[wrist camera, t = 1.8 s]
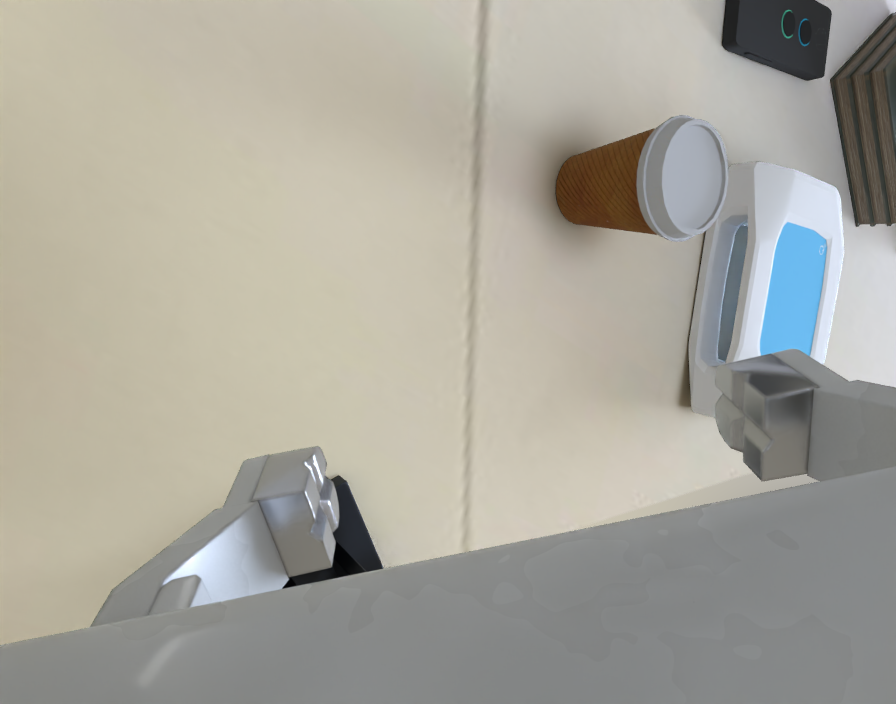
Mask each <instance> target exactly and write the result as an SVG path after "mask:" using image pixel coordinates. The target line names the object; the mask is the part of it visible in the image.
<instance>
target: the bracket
mask: <svg viewBox="0 0 896 704" xmlns="http://www.w3.org/2000/svg"><path fill="white" fill-rule="evenodd" d="M331 481H333V483H334V486H335V489H336V493H337V498H338V503H339V524H338V528H337V529H336V530H335V531H334V532H333V536H334V539H335V542H336V544H335V551H334V557H333V563H332V568H327V569H323V570H318V571H314V572H310V573H305V574H301V575H297V576H292V577H288V578H289V580H288V581H287V583H286V584H285V585H284V586H283V588H282V589H284V588H289V587H294V586H299V585H304V584H309V583H314V582H319V581H324V580H329V579H334V578H339V577H344V576H349V575H354V574H359V573H364V572H369V571H374V570H379V569H384V568H383V566H382V564H381V561H380V559H379V556H378V554H377V552H376V549H375V547H374V545H373V542H372V540H371V538H370V535H369V533H368V530H367V528H366V526H365V523H364V521H363V519H362V516H361V514H360V512H359V509H358V507H357V504H356V502H355V500H354V497H353V495H352V493H351V490H350V488H349V486H348V483H347V481H346V480H344V479H343V478H342V477H340V476H337V477H336V478H334V479H332V480H331Z"/></svg>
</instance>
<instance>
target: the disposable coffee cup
mask: <svg viewBox="0 0 896 704" xmlns="http://www.w3.org/2000/svg"><path fill="white" fill-rule="evenodd" d="M727 187H728V159H727V154H726V150H725V147H724V143H723V141H722V139H721V137H720V135H719V133H718V132H717V130H716V129H715V128H714V127H713V126H712V125H711V124H709V123H708V122H707V121H704V120H701V119H695V118H692V117H690V116H686V115H679V116H675V117H671V118H670V119H668V120H667V121H665V122H664V123H662V124H661V125H660V126H658V127H657V128H656V129H651V130H649V131H645V132H643V133H639V134H637V135H633V136H631V137H628V138H625V139H622V140H619V141H616V142H613V143H610V144H607V145H604V146H602V147H598V148H596V149H593V150H591V151H587V152H584V153H581V154H578V155H574V156H572V157H570V158H569V159H568V160H567V161H566V162H565V163H564V164H563V166H562V167H561V169H560V172H559V174H558V178H557V184H556V196H557V202H558V206H559V208H560V210H561V212H562V214H563V215H564V217H565V218H566V219H567V220H568V221H570V222H572V223H574V224H578V225H587V226H594V227H603V228H609V229H618V230H625V231H632V232H641V233H648V234H655V235H659V236H661V237H664V238H665V239H667V240H670V241H675V242H677V241H685V240H688V239H690V238H692V237H693V236H694V235H698V234H701V233H703V232H705V231H706V230H707V229H708V228H709V227H711V226H712V225H713V223H714V222H715V220H716V219H717V217H718V216H719V213H720V211H721V209H722V207H723V204H724V200H725V197H726V192H727Z"/></svg>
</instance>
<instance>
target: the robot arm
mask: <svg viewBox="0 0 896 704" xmlns="http://www.w3.org/2000/svg"><path fill="white" fill-rule="evenodd" d="M715 386H716V387H717V388H718V389H719V390H720V391H721V392H722V395H721V396H720V398H719V399H718V401H717V402H716V404H715V418H716V422H717V426H718V429H719V432H720V434H721V436H722V438H723V439H724V441H725V442H726V443H727V444H728V446H729V447H730V448H732V449H734V450H737V451H740V452H743V462H744V463H745V464H746V465H747V466H748V467H749V468H750V469H751V470H752V471H753V472H754V473H755V474H756V475H757V477H758V478H759V479H760V480H761V481H768V480H773V479H779V478H785V477H791V476H797V475H802V474H807V476H810V477H812V478H814V479H816V480H818V481H820V482H815V483H810V484H805V485H800V486H795V487H790V488H785V489H780V490H775V491H770V492H765V493H760V494H755V495H750V496H745V497H740V498H735V499H730V500H725V501H720V502H715V503H710V504H705V505H700V506H695V507H690V508H685V509H680V510H675V511H670V512H665V513H660V514H655V515H650V516H645V517H640V518H635V519H630V520H625V521H620V522H615V523H610V524H605V525H600V526H595V527H590V528H585V529H580V530H575V531H570V532H565V533H560V534H555V535H550V536H545V537H540V538H535V539H530V540H525V541H520V542H515V543H510V544H504V545H499V546H494V547H489V548H484V549H479V550H474V551H469V552H464V553H459V554H454V555H449V556H444V557H439V558H434V559H429V560H424V561H419V562H414V563H409V564H404V565H399V566H394V567H389V568H384V569H379V570H374V571H369V572H364V573H359V574H354V575H349V576H344V577H339V578H334V579H329V580H324V581H319V582H314V583H309V584H304V585H299V586H294V587H289V588H284V589H282V588H283V586H284V585H285V584H286V583H287V581H288V580H289V578H288V577H292V576H297V575H301V574H305V573H310V572H314V571H318V570H323V569H327V568H332V563H333V557H334V551H335V544H336V542H335V539H334V536H333V532H334V531H335V530H336V529H337V528H338V524H339V503H338V498H337V493H336V489H335V486H334V483H333V481H331V480H330V479H329V478H327V477H326V476H325V472H326V467H327V462H326V459H325V457H324V454H323V451H322V449H321V448H320V447H319V446H315V447H309V448H304V449H298V450H293V451H287V452H282V453H276V454H271V455H264V456H260V457H255V458H251V459H247V460H245V461H243V463H242V465H241V467H240V470H239V472H238V474H237V476H236V479H235V481H234V483H233V485H232V488H231V490H230V492H229V494H228V497H227V499H226V501H225V503H224V506H223V508H220V509H215V510H214V511H212V512H211V513H210V514H209V515H207V516H206V517H205V518H203V519H202V520H201V521H200V522H198V523H197V524H196V525H194V526H193V527H192V528H191V529H189V530H188V531H187V532H185V533H184V534H183V535H182V536H180V537H179V538H178V539H176V540H175V541H174V542H173V543H171V544H170V545H169V546H167V547H166V548H165V549H164V550H162V551H161V552H160V553H158V554H157V555H156V556H155V557H153V558H152V559H151V560H149V561H148V562H147V563H146V564H144V565H143V566H142V567H140V568H139V569H138V570H137V571H135V572H134V573H133V574H131V575H130V576H129V577H128V578H126V579H125V580H124V581H122V582H121V583H120V584H119V585H117V586H116V587H115V588H113V589H112V591H111V592H110V594H109V596H108V597H107V599H106V601H105V602H104V604H103V606H102V608H101V609H100V611H99V613H98V614H97V616H96V618H95V619H94V621H93V623H92V624H91V626H90V627H89V628H84V629H79V630H74V631H69V632H64V633H59V634H53V635H48V636H43V637H38V638H33V639H28V640H23V641H18V642H13V643H8V644H3V645H0V704H896V388H895V387H890V386H885V385H880V384H875V383H870V382H865V381H860V380H855V381H850V382H849V381H848V380H846V379H845V378H843V377H841V376H840V375H838V374H837V373H835V372H833V371H832V370H830V369H829V368H827V367H826V366H824V365H822V364H821V363H819V362H818V361H816V360H814V359H813V358H811V357H810V356H808V355H807V354H805V353H803V352H802V351H800V350H799V349H787V350H783V351H779V352H775V353H770V354H766V355H762V356H757V357H753V358H748V359H744V360H740V361H735V362H731V363H727V364H723V365H719V366H717V369H716V372H715Z"/></svg>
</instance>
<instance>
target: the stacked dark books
mask: <svg viewBox="0 0 896 704" xmlns="http://www.w3.org/2000/svg"><path fill="white" fill-rule="evenodd" d="M831 86H832V91H833V97H834V103H835V109H836V114H837V120H838V126H839V131H840V137H841V143H842V148H843V154H844V160H845V165H846V171H847V177H848V182H849V188H850V194H851V199H852V205H853V211H854V216H855V222H856V227H858V226H859V225H860V224H870V226H875V225H876V224H887V226H891V225H892V224H893V223H896V12H895V13H892V14H890V15H889V17H888V18H887V19H886V20H885V21H884V22H883V23H882V24H881V25H880V26H879V27H878V29H877V30H876V31H875V32H874V33H873V34H872V35H871V36H870V37H869V38H868V39H867V41H866V42H865V43H864V44H863V45H862V46H861V47H860V48H859V49H858V50H857V51H856V52H855V54H854V55H853V56H852V57H851V58H850V59H849V60H848V61H847V62H846V63H845V64H844V66H843V67H842V68H841V69H840V70H839V71H838V72H837V73H836V74H835V75H834V76H833V78H832V79H831Z"/></svg>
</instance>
